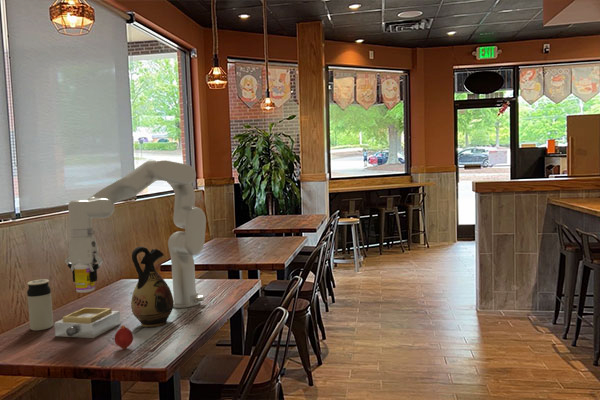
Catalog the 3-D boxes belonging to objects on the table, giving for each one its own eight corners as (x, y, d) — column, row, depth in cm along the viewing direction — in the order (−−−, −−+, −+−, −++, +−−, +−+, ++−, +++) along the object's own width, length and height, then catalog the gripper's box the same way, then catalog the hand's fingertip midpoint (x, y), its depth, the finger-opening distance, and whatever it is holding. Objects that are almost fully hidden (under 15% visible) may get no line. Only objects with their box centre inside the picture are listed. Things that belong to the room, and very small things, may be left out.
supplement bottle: (88, 293, 182) (85, 258, 181) (72, 293, 183) (69, 258, 183) (99, 288, 189) (96, 254, 188) (83, 288, 190) (80, 255, 189)
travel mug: (58, 324, 195) (54, 279, 194) (41, 331, 187) (37, 284, 186) (42, 323, 197) (38, 278, 196) (25, 330, 190) (21, 283, 189)
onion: (118, 346, 168) (116, 323, 167) (135, 345, 168) (134, 321, 168) (113, 352, 162) (111, 328, 161) (131, 351, 162) (129, 327, 162)
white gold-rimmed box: (120, 323, 193) (119, 307, 192) (89, 340, 175) (88, 321, 175) (84, 322, 197) (83, 306, 196) (51, 338, 179) (49, 320, 179)
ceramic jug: (161, 315, 202) (157, 241, 200) (182, 322, 191) (177, 244, 189) (121, 325, 190) (115, 247, 188) (140, 334, 179) (134, 251, 177)
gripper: (108, 231, 186) (111, 279, 187) (68, 232, 190) (72, 278, 192) (95, 234, 179) (98, 284, 180) (54, 235, 183) (58, 283, 184)
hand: (85, 280), depth 186 cm, fingers closed on supplement bottle, 6 cm apart
